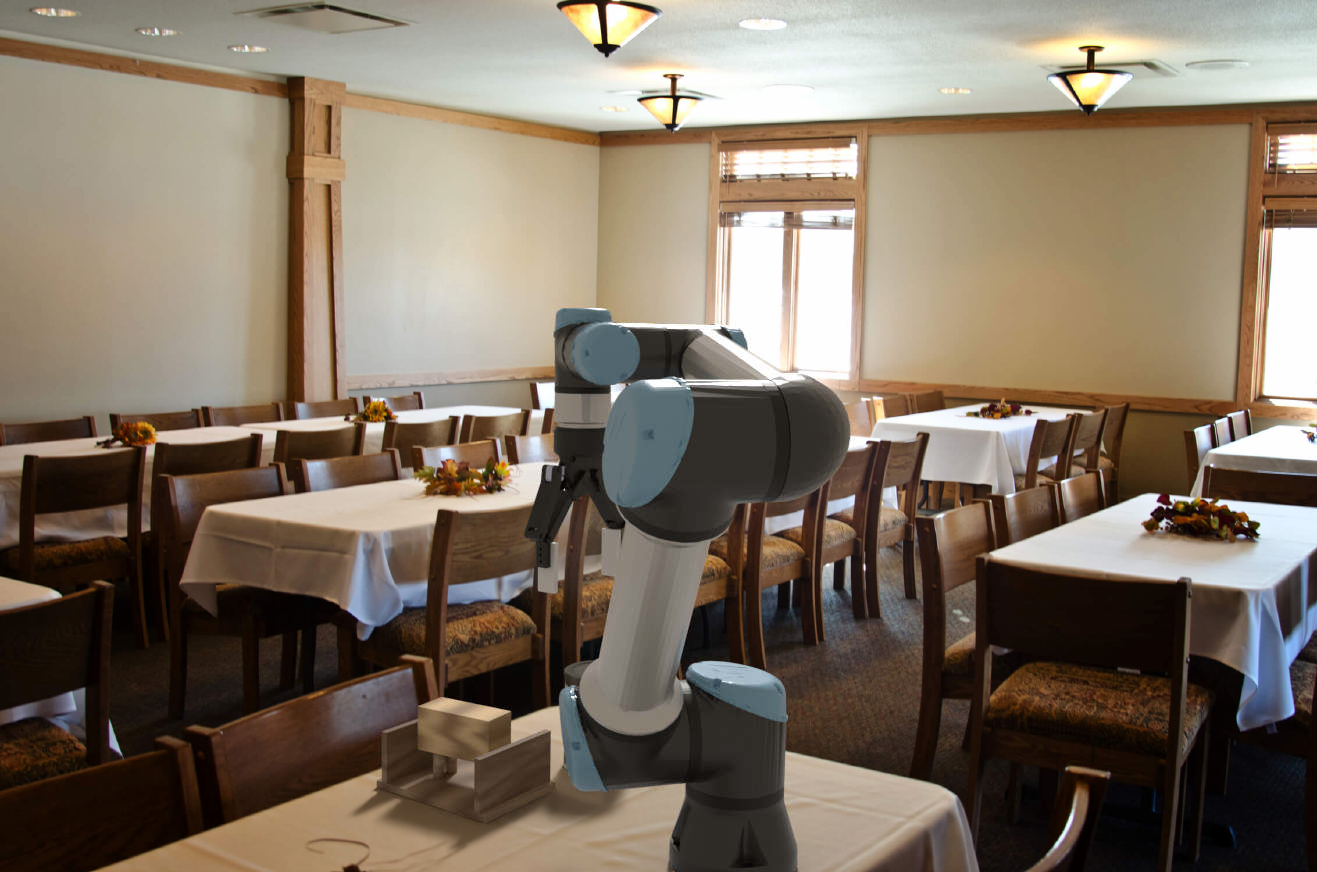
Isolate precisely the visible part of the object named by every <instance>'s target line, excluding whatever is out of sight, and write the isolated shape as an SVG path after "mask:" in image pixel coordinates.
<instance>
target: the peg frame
mask: <svg viewBox="0 0 1317 872" xmlns="http://www.w3.org/2000/svg"><path fill="white" fill-rule="evenodd" d="M551 741H552V730H550V729H546V728H544V729H542V730H540V731H537V732H535V733H533V734H530V735H528V736H526V737H524V738H521V739H518V740H516V741H513V742H511V744H508V745H506V746H503V747H501V748H498V749H496V750H494V751H491V752H489V753H486V754H484V755H481V756H479V757H477V758H474V762H470V761H466V760H461V759H457V758H453V757H449V756H444V755H440V754H436V753H432V752H427V751H423V750H419V749H418V718H416V719H413V720H410V721H408V722H405V723H401V724H399V725H396V726H394V727H393V726H392V727H390V728H388V729H385V730H382V731H381V778H378V779H376V788H378V789H380V790H384V791H387V792H390V793H392V794H396V795H398V796H402V797H405V798H408V799H410V800H413V801H418V802H419V803H422V804H427V805H428V806H429V805H430V806H433V807H435V808H438V809H442V810H444V811H447V812H450V813H454V814H457V815H460V816H463V817H466V818H469V819H472V820H474V821H477V822H481V823H484V824H487V823H489V822H491V821H493V820H496V819H498V818H500V817H501V816H503V815H506V814H509V813H510V812H513V811H514V810H517V809H519V808H520V807H523V806H525V805H527V804H529V803H530V802H531V803H532V801H534V800H538V799H539V798H541V797H543V796H546V795H548V794H550V793H551V792H554V791H556V790H557V781H553V780H551V767H552V766H551V759H552V758H551V757H552V756H551V755H552V752H551V747H552V746H551V745H552V742H551Z"/></svg>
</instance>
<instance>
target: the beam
mask: <svg viewBox="0 0 1317 872" xmlns="http://www.w3.org/2000/svg"><path fill="white" fill-rule="evenodd" d="M417 719H418V749H419V750H423V751H427V752H432V753H436V754H440V755H444V756H449V757H453V758H457V759H461V760H466V761H470V762H474V758H477V757H479V756H481V755H484V754H486V753H489V752H491V751H494V750H496V749H498V748H501V747H503V746H506V745H508V744H511V743H512V711H511V710H508V709H507V710H506V709H501V708H497V707H492V706H488V705H482V704H476V703H473V702H467V701H465V700H464V701H463V700H457V699H453V698H448V697H443V696H441V697H438V698H435V699H432V700H430V701H428V702H425V703H423V704H421V705H418V706H417Z"/></svg>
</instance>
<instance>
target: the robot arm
mask: <svg viewBox="0 0 1317 872" xmlns="http://www.w3.org/2000/svg"><path fill="white" fill-rule="evenodd" d="M612 318H613V317H612V313H611V311H610V310H609V309H606V308H596V307H562V308H560V309H558V310H557V312H556V313H555V320H554V321H555V322H554V323H555V324H554V331H553V338H554V391H553V392H554V408H553V409H554V413H553V414H554V417H553V419H554V422H555V423H557V424H558V425H557V426H555V427H554V428H553V453H554V454H555V455H557V456H558V458H559V461H558V465H556V464H546V463H545V464H543V465H542V466H541V476H540V483H539V486H538V488H537V493H536V496H535V499H534V502H533V505H532V508H531V511H530V514H529V518H528V521H527V524H526V527H525V531H524V537H525V539H529V541H530V542H535V543H536V544H535V545H536V547H535V550H536V551H535V554H536V557H535V558H536V560H535V564H536V568H537V591H538V592H542V593H547V594H553V595H554V594H559V593H558V592H559V585H558V584H559V542H555V541H554V540H555V539H556V537H557V535H558V533H559V531H560V529H561V527H562V525H563V523H564V520H565V519H566V517H567V515H568V513H569V511H570V508H571V507H572V504H573V503H574V502H576V501H577V500H578V499H579V498H580V497H581V498H582V497H584V496H587V495H589V498H590V499H591V500H592V502H593V504H594V506H595V508H596V509H597V511H598V513H599V515H600V517H601V518H602V520H603V522H604V524H605V526H606V527H602V528H601V554H600V555H601V556H600V557H601V562H600V566H601V568H600V569H601V574H600V575H602V576H606V577H608V576H609V577H613V578H614V580H613V585H612V590H611V595H610V601H609V606H608V611H607V615H606V619H605V624H604V625H605V626H604V630H603V634H602V635H603V637H602V641H601V646H600V649H599V657H598V658H596V659H594V660H595V661H594V662H592V663H591V664H590V665H589V666H588V667H587V668H586V670H585V671H584V673H583V675H582V678H581V681H580V686H579V687H577V686H576V685H572V686H570V687H567V688H565V687H564V688H562V690H560V693H559V697H558V705H559V706H558V707H559V708H558V710H559V721H560V730H561V737H562V746H563V754H564V753H565V759H566V764H567V769H568V770H567V772H568V777H569V779H570V782H571V783H572V785H573V787H574V788H575V789H577V790H578V791H579V792H580V791H581V792H603V793H609V792H612V791H621V790H630V789H640V788H641V789H642V788H648V787H649V788H651V787H652V788H653V787H660V786H669V785H683V784H685V785H684V786H685V787H684V788H685V792H684V798H683V802H682V805H681V807H680V810H679V812H678V816H677V818H676V821H675V825H674V827H673V829H672V830H673V831H672V833H671V835H670V840H669V846H668V847H669V848H668V849H669V850H668V851H669V852H668V861H669V865H670V867H671V869H672V870H673V871H674V872H796V871H797V868H798V854H799V853H798V844H797V840H796V838H795V834H794V830H793V826H792V823H791V820H790V817H789V813H788V810H787V807H786V803H785V779H786V778H785V776H786V771H785V770H786V750H787V749H786V748H787V747H786V744H787V743H786V741H787V722H788V720H789V717H788V715H787V693H786V689H785V685H783V683H782V682H781V680H780V679H779V678H777V677H776V676H775V675H773V674H772V673H769V672H767V671H765V670H763V669H760V668H756V667H753V666H748V665H745V664H740V663H735V662H728V661H718V660H707V661H705V660H704V661H699V662H694V663H691V664H690V665H689V666H688V667H687V671H686V672H685V678H686V679H679V678H678V677H677V673H678V670H679V667H680V662H681V658H682V654H683V650H684V647H685V642H686V639H687V634H688V630H689V626H690V623H691V620H692V619H691V618H692V616H693V611H694V608H695V603H696V600H697V596H698V593H699V592H698V591H699V588H700V584H701V579H702V577H703V573H704V569H705V564H706V561H707V557H708V553H709V550H710V549H709V548H710V544H711V542H712V541H714V540H716V539H718V538H719V537H721V536H722V535H724V534H725V533H726V532H727V531H728V529H729V528H730V527H731V526H730V525H732V523H733V519H734V516H735V511H736V508H737V505H739V504H759V503H760V504H761V503H762V504H764V503H765V504H766V503H769V504H770V503H778V502H779V503H781V502H785V503H786V502H789V501H794V500H797V499H800V498H803V497H805V496H808V495H809V494H812V493H813V492H816V491H817V490H818V489H820V488H821V487H823V486H824V485H826V484H827V482H828V481H830V480H831V478H833V476H834V475H836V473H837V472H838V471H839V469H840V468H841V466H842V464H843V463H844V461H845V459H846V457H847V452H848V451H849V448H850V442H851V422H850V419H849V418H850V417H849V414H848V410H846V407H845V405H844V402H843V401H842V400H841V399H840V397H839V396H838V395H837V393H835V392H834V391H833V390H832V389H831V388H830V387H828V386H826V385H825V384H824V383H822V382H820V381H819V380H817V379H815V378H813V377H811V376H809V375H807V374H803V373H797V372H790V373H789V372H787V373H786V372H784V371H783V370H781V369H779V368H778V367H776V366H774V365H772V364H771V363H770V362H768V361H766V360H764V359H762V358H761V357H760V356H758V355H756V354H755V353H753V352H751V351H749V346H748V345H749V344H748V341H747V338H746V337H745V334H744V331H742V329H740V328H739V327H737V326H734V325H724V324H723V325H722V324H719V323H710V324H663V323H638V322H636V323H634V322H628V323H627V322H616V321H613V320H612ZM617 384H618V385H619V384H621V385H622V384H626V386H625V387H624V388H623V389H622V390H621V392H619V394H618V396H616V398H615V401H614V402H613V404H612V386H615V385H617ZM627 384H628V385H627ZM622 533H623V535H622Z"/></svg>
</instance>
